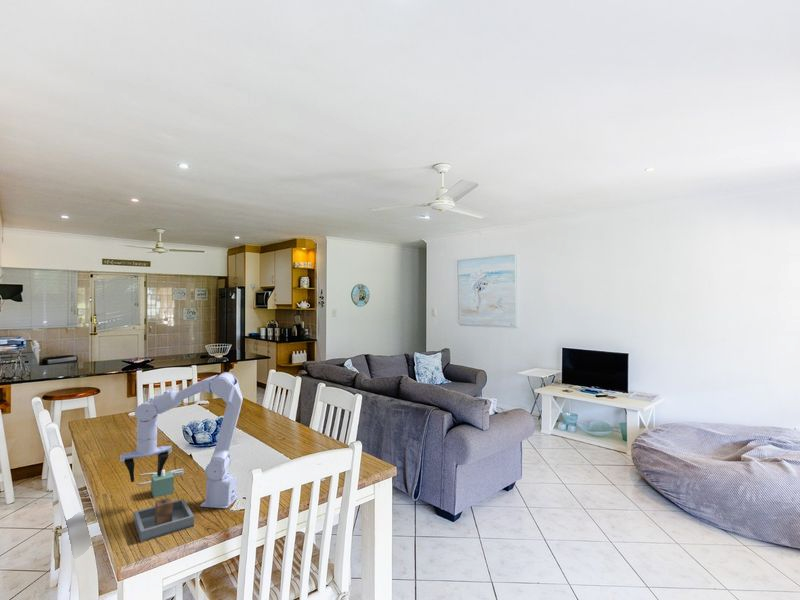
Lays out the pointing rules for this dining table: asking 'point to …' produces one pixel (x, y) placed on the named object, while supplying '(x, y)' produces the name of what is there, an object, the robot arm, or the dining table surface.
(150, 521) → the tray
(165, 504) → the walnut block
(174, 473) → the pliers
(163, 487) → the green block
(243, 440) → the dining table surface
